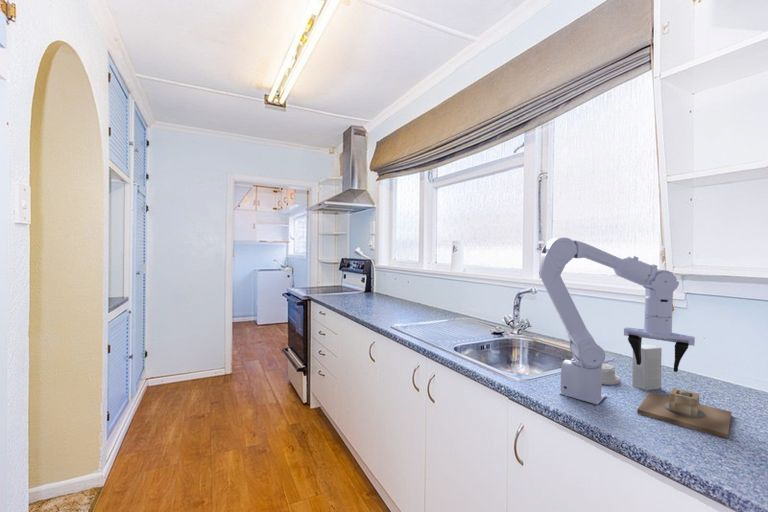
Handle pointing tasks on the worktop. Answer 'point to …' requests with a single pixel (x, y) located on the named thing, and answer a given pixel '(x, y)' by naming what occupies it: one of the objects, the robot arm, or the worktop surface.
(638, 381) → the skincare box
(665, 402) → the post board
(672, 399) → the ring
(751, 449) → the worktop surface
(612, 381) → the mechanical component
